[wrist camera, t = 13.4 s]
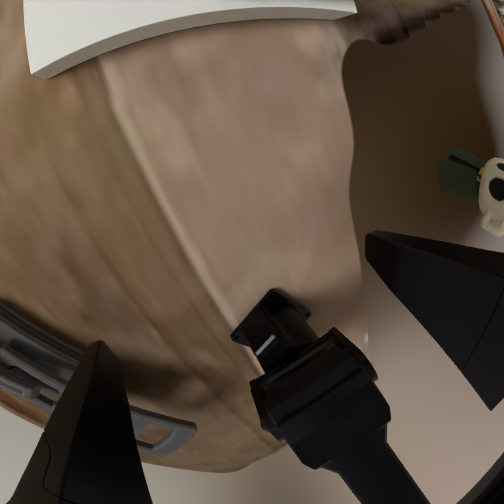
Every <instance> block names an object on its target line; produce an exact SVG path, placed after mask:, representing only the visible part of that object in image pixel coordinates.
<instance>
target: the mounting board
mask: <svg viewBox="0 0 504 504" xmlns="http://www.w3.org/2000/svg"><path fill="white" fill-rule="evenodd" d="M355 13H357V10H356V6H355V3H354V0H24V22H25V34H26V44H27V52H28V59H29V65H30V71H31V75H34V76H37V77H40V78H43V79H46V80H47V79H49V78H51V77H53V76H55V75H57V74H59V73H61V72H63V71H65V70H67V69H69V68H71V67H73V66H75V65H77V64H79V63H82V62H84V61H86V60H88V59H91V58H93V57H96V56H98V55H101V54H103V53H106V52H108V51H111V50H114V49H116V48H119V47H122V46H125V45H128V44H131V43H134V42H137V41H141V40H144V39H147V38H151V37H155V36H158V35H162V34H166V33H170V32H174V31H179V30H183V29H188V28H193V27H199V26H204V25H211V24H217V23H225V22H233V21H242V20H254V19H273V18H309V19H328V20H336V19H339V18H342V17H345V16H348V15H352V14H355Z"/></svg>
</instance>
